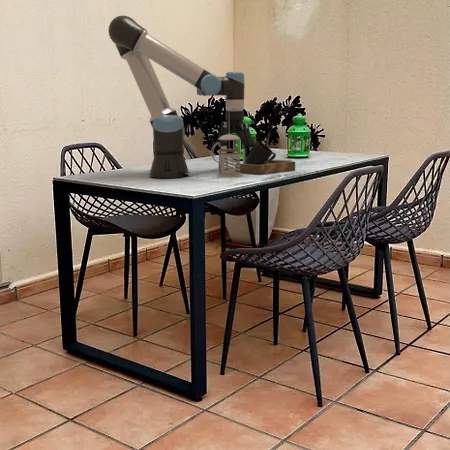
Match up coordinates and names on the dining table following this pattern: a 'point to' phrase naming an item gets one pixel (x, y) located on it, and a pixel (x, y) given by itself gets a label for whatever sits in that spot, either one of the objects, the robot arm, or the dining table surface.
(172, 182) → the dining table surface
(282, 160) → the t block
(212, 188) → the dining table surface
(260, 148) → the mug
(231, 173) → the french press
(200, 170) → the dining table surface
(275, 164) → the brown wooden tray
